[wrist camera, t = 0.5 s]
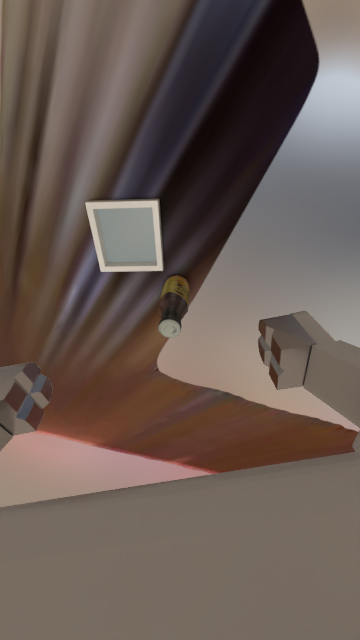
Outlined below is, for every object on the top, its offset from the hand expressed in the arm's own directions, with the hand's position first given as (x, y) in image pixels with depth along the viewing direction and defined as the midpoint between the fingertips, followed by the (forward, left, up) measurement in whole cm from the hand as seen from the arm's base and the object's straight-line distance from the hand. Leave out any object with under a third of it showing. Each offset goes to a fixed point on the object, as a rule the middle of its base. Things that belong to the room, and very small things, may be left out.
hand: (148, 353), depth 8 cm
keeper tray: (+7, -12, -47) cm, 49 cm away
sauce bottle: (+19, -2, -47) cm, 51 cm away
